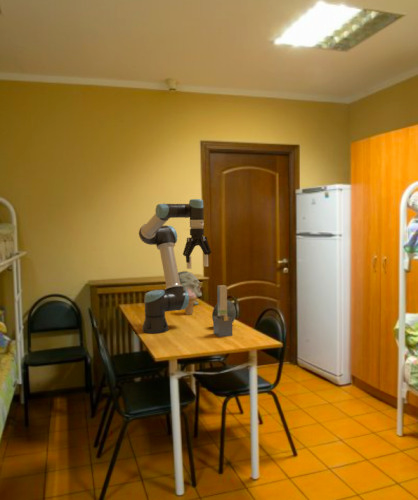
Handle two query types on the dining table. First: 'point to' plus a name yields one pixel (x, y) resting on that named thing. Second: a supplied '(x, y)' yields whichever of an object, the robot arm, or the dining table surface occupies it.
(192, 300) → the ice cream cone
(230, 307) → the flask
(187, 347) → the dining table surface
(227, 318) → the stand base
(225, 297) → the column
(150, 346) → the dining table surface
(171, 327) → the dining table surface
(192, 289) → the sculpture
